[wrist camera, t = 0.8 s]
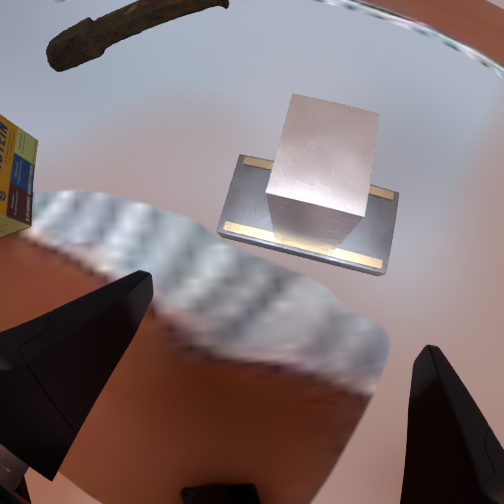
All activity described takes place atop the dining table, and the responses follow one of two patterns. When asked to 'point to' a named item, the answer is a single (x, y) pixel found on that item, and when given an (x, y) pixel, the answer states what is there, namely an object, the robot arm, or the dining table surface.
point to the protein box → (15, 177)
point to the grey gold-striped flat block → (261, 234)
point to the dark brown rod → (117, 29)
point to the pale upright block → (321, 172)
